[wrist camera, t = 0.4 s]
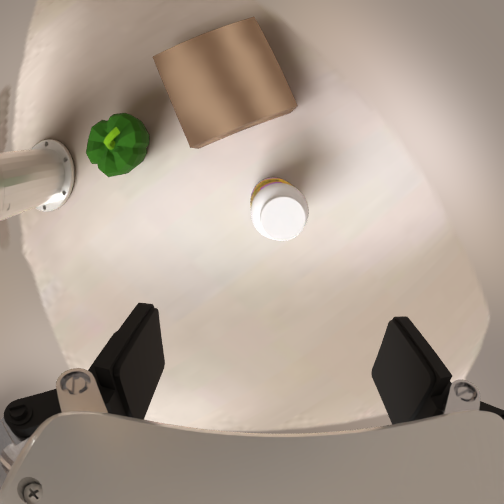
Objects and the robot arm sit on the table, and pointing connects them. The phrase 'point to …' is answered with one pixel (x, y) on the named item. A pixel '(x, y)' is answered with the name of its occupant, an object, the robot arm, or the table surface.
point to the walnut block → (224, 82)
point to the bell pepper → (117, 144)
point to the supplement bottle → (278, 209)
